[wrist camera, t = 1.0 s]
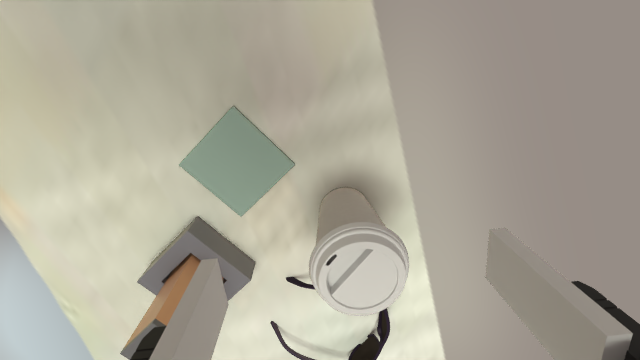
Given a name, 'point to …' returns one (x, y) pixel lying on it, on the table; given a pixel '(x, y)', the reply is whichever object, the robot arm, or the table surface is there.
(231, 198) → the pad
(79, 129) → the table surface
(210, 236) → the grey square frame
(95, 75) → the table surface
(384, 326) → the sunglasses
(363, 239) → the coffee cup
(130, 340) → the plug
